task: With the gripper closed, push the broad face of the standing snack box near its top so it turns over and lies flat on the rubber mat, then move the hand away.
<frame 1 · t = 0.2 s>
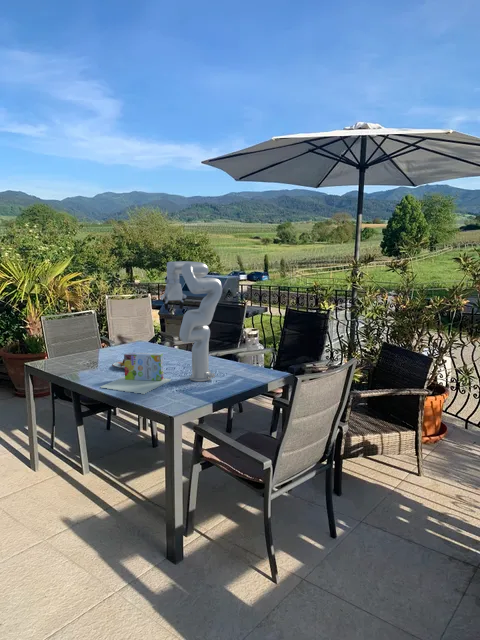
hand: (173, 309, 265), 37 cm above the table, tool pointing down, fingers open, 9 cm apart
snack box: (144, 379, 241), resting on mat
food on plate: (133, 367, 271), on the table
mat: (136, 383, 234), on the table
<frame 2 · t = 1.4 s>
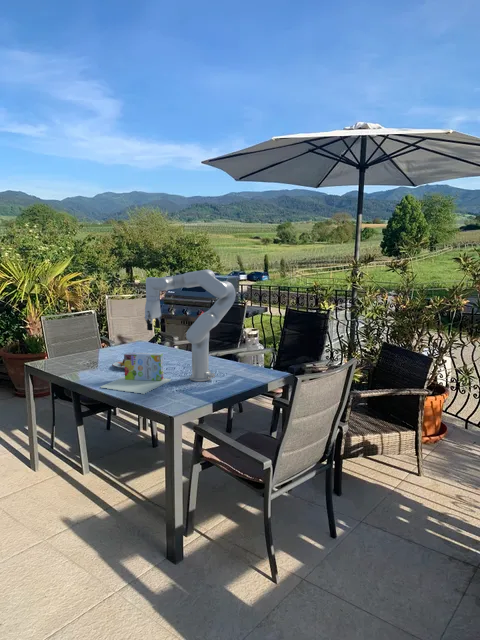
hand: (153, 328, 247), 28 cm above the table, tool pointing down, fingers open, 7 cm apart
nothing on the table moved.
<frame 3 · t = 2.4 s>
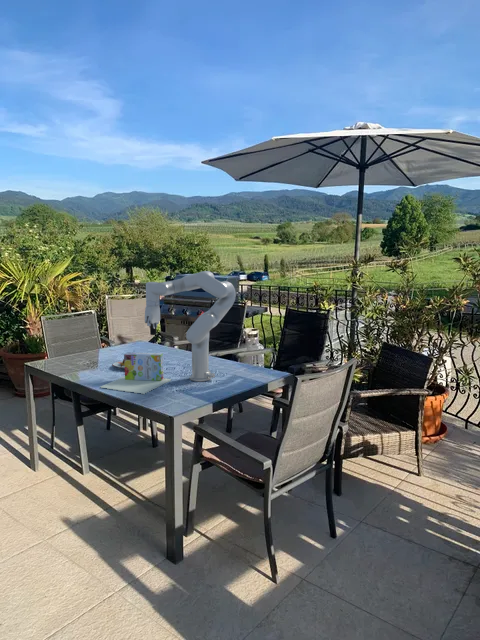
hand: (153, 334, 248), 24 cm above the table, tool pointing down, fingers closed
nothing on the table moved.
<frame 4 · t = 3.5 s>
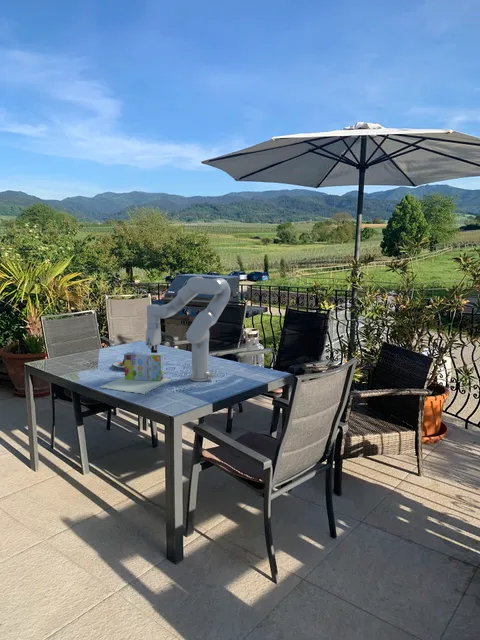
hand: (154, 356, 250), 11 cm above the table, tool pointing down, fingers closed
nothing on the table moved.
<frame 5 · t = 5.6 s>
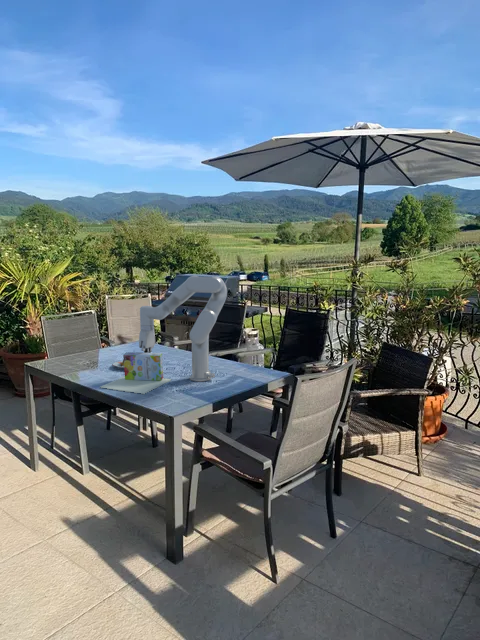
hand: (148, 359, 244), 11 cm above the table, tool pointing down, fingers closed
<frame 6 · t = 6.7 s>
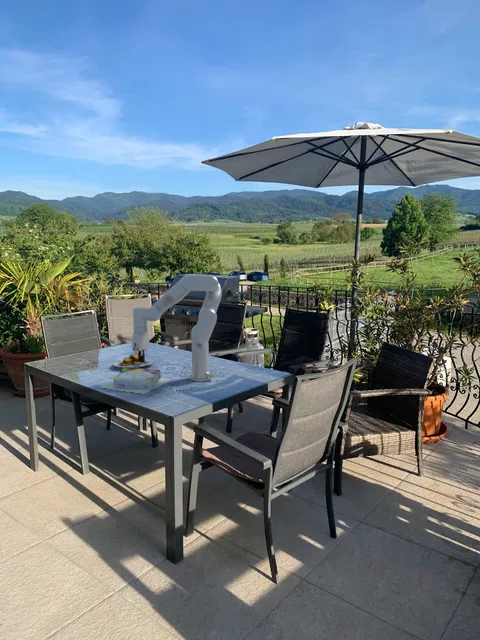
hand: (141, 361, 238), 11 cm above the table, tool pointing down, fingers closed
snack box: (142, 372, 237), point 6 cm above the table, touching mat
everything else where it was.
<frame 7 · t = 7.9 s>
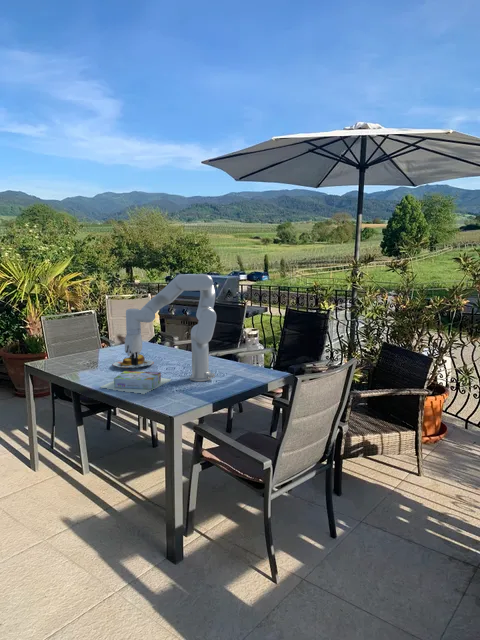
hand: (134, 364, 232), 11 cm above the table, tool pointing down, fingers closed
snack box: (142, 375, 238), point 4 cm above the table, touching mat
everything else where it was.
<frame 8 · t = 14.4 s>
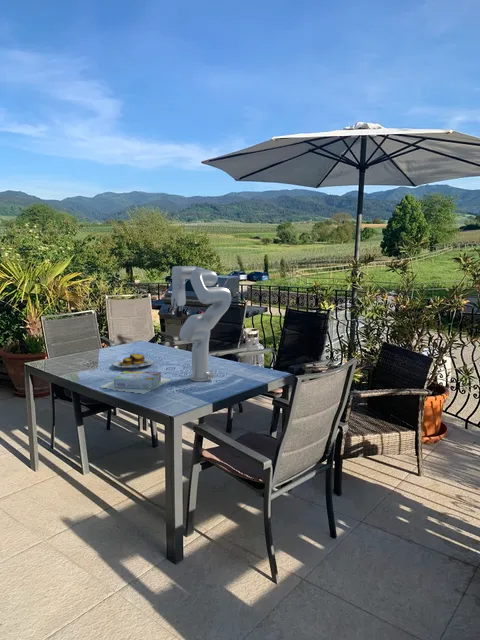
hand: (179, 317, 258), 33 cm above the table, tool pointing down, fingers closed
nothing on the table moved.
at the end: snack box tilted 91°; snack box inside the target area on the mat (5.0 cm from its centre), point 3.6 cm above the mat's base; snack box touching mat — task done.
